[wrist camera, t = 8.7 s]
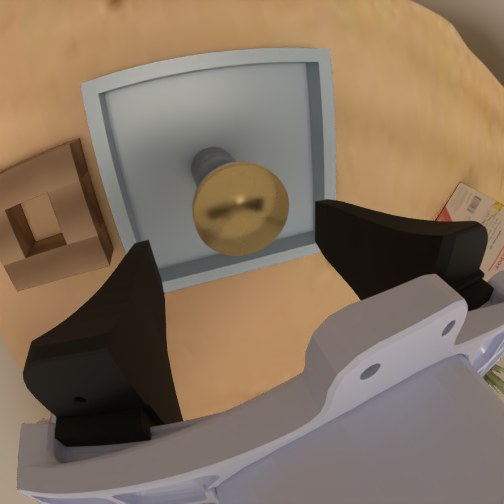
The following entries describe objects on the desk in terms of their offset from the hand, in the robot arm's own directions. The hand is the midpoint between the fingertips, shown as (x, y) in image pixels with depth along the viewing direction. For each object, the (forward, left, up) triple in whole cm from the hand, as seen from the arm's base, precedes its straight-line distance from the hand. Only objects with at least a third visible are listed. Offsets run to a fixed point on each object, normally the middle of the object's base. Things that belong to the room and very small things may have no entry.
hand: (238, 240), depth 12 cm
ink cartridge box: (-10, -29, -11) cm, 33 cm away
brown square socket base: (0, +13, -10) cm, 16 cm away
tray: (0, -1, -10) cm, 10 cm away
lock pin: (+1, -1, -10) cm, 10 cm away
